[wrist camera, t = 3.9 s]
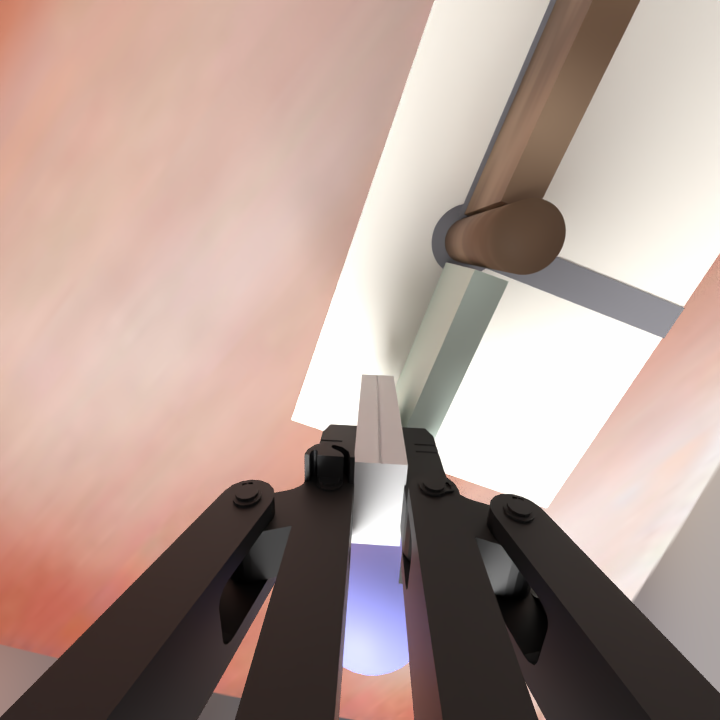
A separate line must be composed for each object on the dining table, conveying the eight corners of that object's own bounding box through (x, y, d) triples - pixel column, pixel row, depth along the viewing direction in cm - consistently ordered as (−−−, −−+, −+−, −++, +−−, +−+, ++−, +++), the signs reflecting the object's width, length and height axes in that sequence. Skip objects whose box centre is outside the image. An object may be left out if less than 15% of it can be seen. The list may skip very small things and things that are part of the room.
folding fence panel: (442, 260, 16) (477, 269, 10) (473, 272, 16) (526, 287, 10) (368, 444, 19) (364, 528, 14) (395, 453, 19) (403, 539, 14)
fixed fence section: (611, -158, 12) (901, -655, 5) (662, -132, 12) (1007, -588, 6) (437, 254, 16) (478, 259, 10) (476, 269, 17) (542, 285, 10)
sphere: (298, 521, 22) (264, 637, 16) (394, 478, 21) (402, 585, 14) (352, 593, 24) (343, 725, 17) (445, 558, 23) (472, 686, 16)
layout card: (508, -215, 12) (514, -235, 11) (895, -22, 13) (915, -32, 13) (292, 416, 20) (290, 420, 20) (543, 503, 21) (547, 509, 21)
